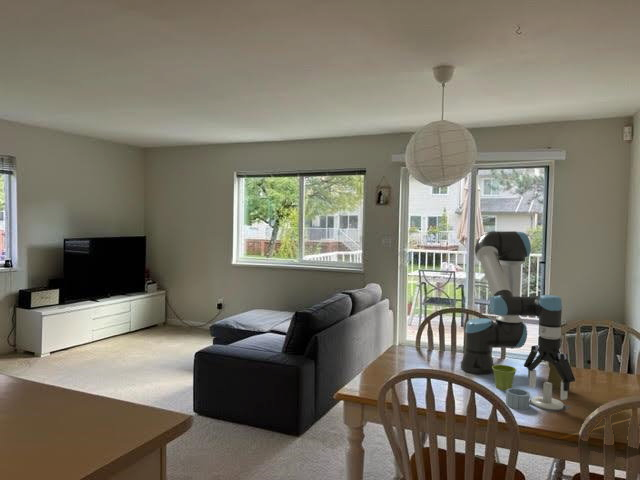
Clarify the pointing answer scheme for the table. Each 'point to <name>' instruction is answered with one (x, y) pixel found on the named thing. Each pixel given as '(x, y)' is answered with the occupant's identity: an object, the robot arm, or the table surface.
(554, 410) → the mat
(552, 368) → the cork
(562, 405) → the lid
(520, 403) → the bowl
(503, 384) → the plant pot
